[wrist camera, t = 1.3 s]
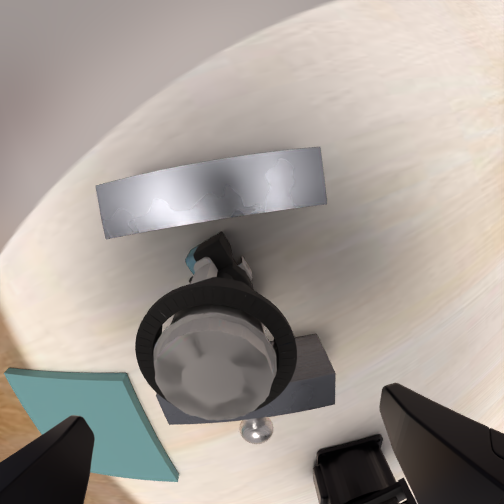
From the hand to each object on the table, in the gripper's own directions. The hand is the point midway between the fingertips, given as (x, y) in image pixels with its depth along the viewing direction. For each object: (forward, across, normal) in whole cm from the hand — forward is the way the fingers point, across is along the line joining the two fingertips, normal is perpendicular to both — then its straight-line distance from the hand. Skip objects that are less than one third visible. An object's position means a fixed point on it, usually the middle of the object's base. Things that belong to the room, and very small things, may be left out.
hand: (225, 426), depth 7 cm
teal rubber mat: (+11, +16, +13) cm, 23 cm away
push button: (+12, 0, 0) cm, 12 cm away
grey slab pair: (+11, 0, +2) cm, 12 cm away
